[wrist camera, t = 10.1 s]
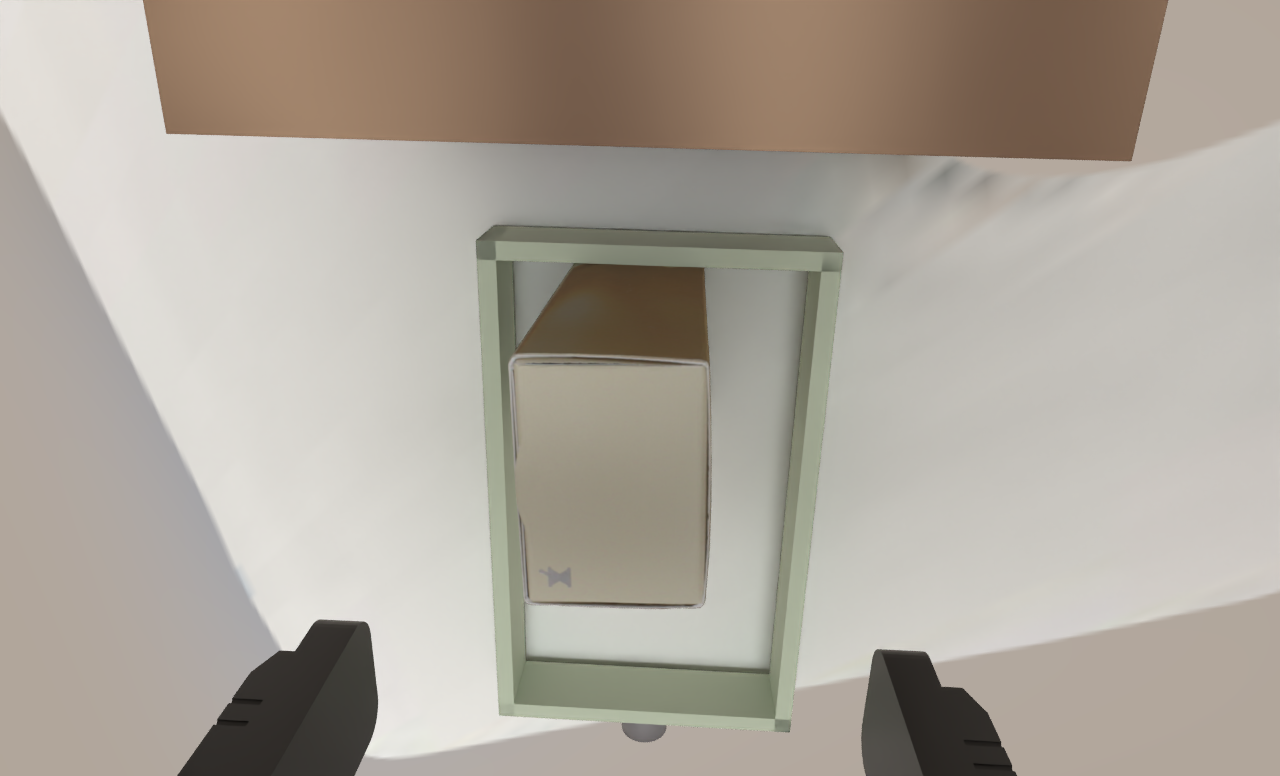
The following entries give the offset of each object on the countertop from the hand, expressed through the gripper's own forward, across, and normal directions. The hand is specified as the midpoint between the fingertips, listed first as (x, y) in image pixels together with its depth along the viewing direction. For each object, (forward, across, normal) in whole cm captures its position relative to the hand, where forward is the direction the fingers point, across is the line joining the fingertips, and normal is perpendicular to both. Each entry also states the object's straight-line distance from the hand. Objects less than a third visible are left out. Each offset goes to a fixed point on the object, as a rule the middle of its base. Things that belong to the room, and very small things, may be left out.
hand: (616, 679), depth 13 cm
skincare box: (+18, 0, 0) cm, 18 cm away
